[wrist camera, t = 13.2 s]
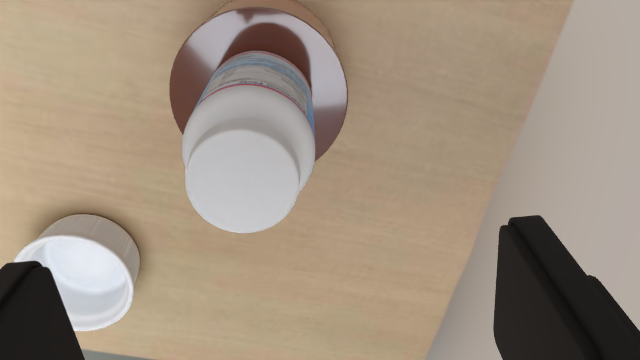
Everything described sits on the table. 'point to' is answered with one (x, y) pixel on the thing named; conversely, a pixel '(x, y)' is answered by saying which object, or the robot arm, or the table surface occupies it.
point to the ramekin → (88, 268)
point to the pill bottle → (250, 143)
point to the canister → (270, 36)
